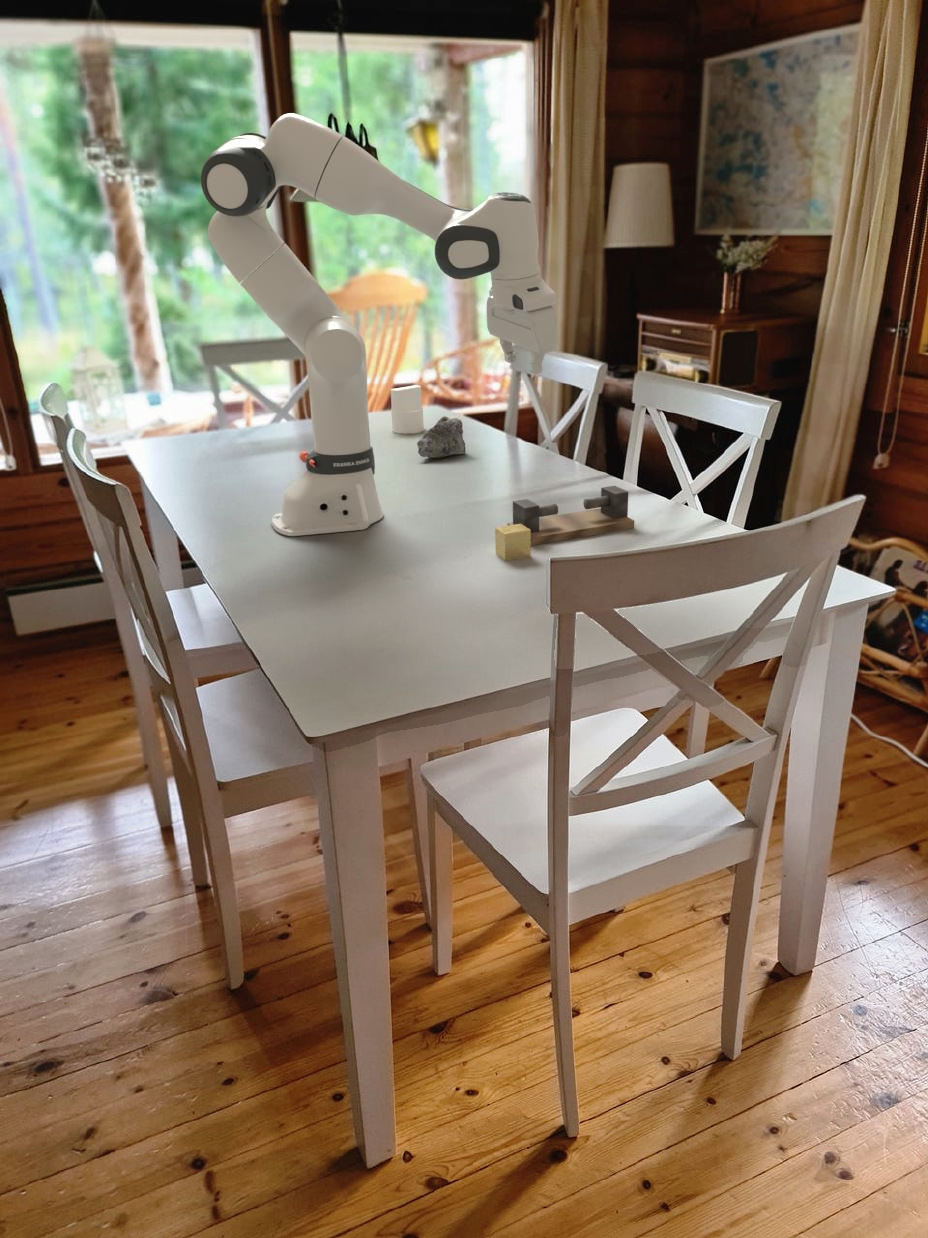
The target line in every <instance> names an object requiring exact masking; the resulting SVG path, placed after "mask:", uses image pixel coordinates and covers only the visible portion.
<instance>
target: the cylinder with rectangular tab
mask: <svg viewBox="0 0 928 1238" xmlns="http://www.w3.org/2000/svg"><path fill="white" fill-rule="evenodd" d="M390 399H391V402H390V403H391V412H390V413H391V426H392V427H391V429H392V432H393V431H395V432H398V433H397V434H399V433H412V434H418V433H421V431H422V432H424V431H425V427H424V426H425V424H424V409H423V402H422V401H423V399H422V386H421V385H415V384H414V385H410V386H409V385H408V386H403V387H398V388H397V387H396V388H390ZM417 432H418V433H417Z"/></svg>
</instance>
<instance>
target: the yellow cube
mask: <svg viewBox="0 0 928 1238" xmlns="http://www.w3.org/2000/svg"><path fill="white" fill-rule="evenodd" d="M494 532H495V533H494V535H495V536H494V538H495V541H494V542H495V555H496V556H498V557H499V558H501V559H502V560H503V561H505V562H507V561H510V560H511V561H513V560H516V559H517V560H518V559H523V558H530V557H531V555H532V552H531V550H532V549H531V547H532V546H531V530H530V529H529V528H527V527H525V526H524V525H522V524H515V525H509V526H508V525H504V526H497V527H495V528H494Z"/></svg>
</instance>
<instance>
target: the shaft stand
mask: <svg viewBox="0 0 928 1238" xmlns="http://www.w3.org/2000/svg"><path fill="white" fill-rule="evenodd" d="M583 508H584V509H585V510H582V511H574V512H569V513H563V514H558V513H559V506H558V504H556V503H551V504H546V505H539V504H537V503H535V502H533V501H531V500H529V499H528V498H525V499H518V500H512V522H508V523H507V525H506V526H509V525H515V524H522V525H524V526H525V527H527V528H529V529H530V530H531V547H532V546H537V545H543V544H549V543H554V542H561V541H567V540H572V539H577V538H578V539H579V538H584V537H588V536H589V537H590V536H594V535H596V536H597V535H601V534H605V533H606V534H607V533H613V532H619V531H624V530H629V529H634V528H635V520H634V519H633V518H631V517H628V513H629V509H628V508H629V491H627V490H626V489H623V488H621V487H619V486H617V485H612V486H611V485H609V486H603V487H601V488H600V496H596V497H589V498H584V499H583Z"/></svg>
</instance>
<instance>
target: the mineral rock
mask: <svg viewBox="0 0 928 1238" xmlns="http://www.w3.org/2000/svg"><path fill="white" fill-rule="evenodd" d="M463 434H464V430H463V422H462V419H460V418H458V417H454V418H449V417H448V416H444V415H443V416H442V417H441V418H440V419H438V420H437V422H436V423H435V425H434V426H432V427H431V428H429V429H428V430H427V431H426V433H424V435H423V436H422V437H421V438H420V439H419V440H418V441H417V442H416V446H417V449H418V450H417V453H418V455H419V456H420V457H422V458H439V459H441V458H446V457H448V456H451V455H453V456H454V455H463V454H466V452H467V451H466V442H465V439H464V437H463Z"/></svg>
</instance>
